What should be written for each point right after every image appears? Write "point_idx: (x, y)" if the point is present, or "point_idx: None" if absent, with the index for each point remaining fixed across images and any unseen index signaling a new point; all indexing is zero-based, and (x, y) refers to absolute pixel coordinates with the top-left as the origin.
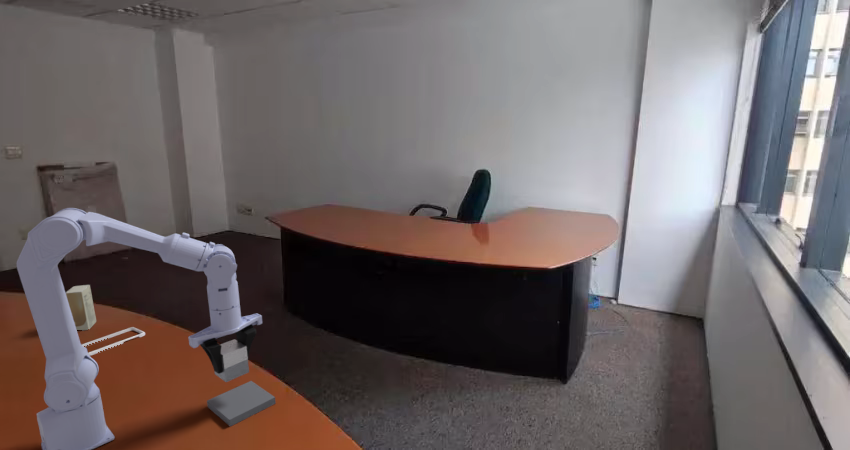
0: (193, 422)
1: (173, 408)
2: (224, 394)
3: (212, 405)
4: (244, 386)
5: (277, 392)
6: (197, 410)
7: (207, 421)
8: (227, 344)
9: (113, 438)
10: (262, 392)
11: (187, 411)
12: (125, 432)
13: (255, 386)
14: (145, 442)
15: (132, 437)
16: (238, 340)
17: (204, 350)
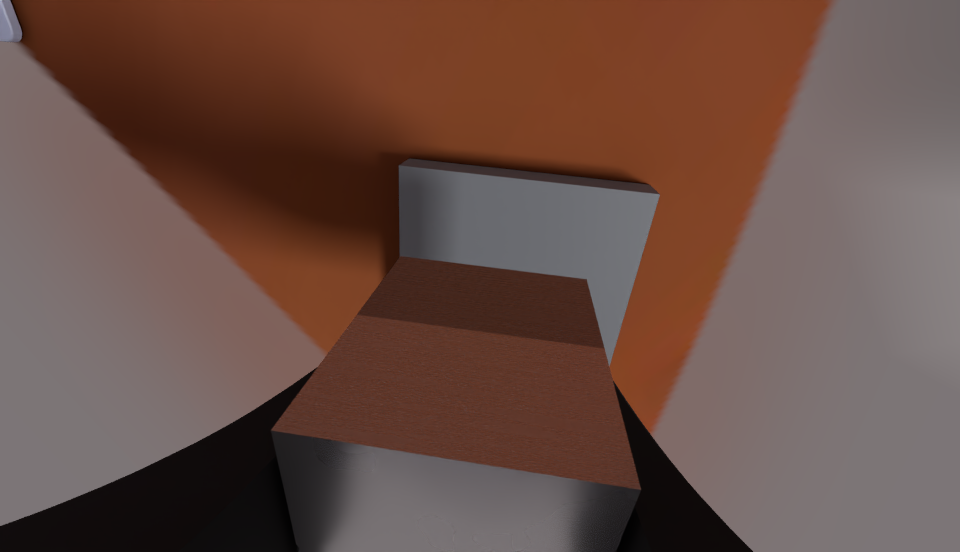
0: (322, 213)
1: (282, 4)
2: (485, 193)
3: (399, 228)
4: (595, 214)
5: (665, 325)
6: (365, 141)
7: (365, 255)
8: (469, 515)
9: (13, 41)
10: (600, 331)
11: (328, 105)
12: (67, 16)
13: (624, 262)
14: (148, 175)
15: (100, 91)
16: (633, 548)
17: (145, 476)
